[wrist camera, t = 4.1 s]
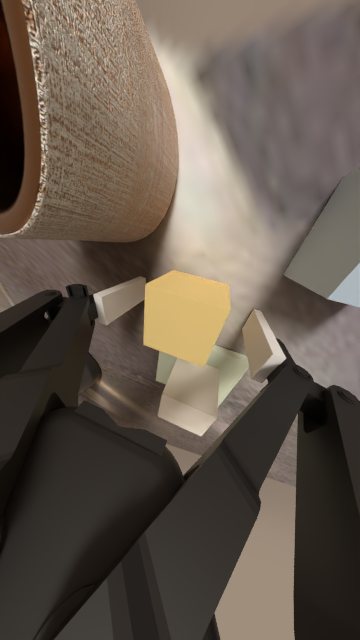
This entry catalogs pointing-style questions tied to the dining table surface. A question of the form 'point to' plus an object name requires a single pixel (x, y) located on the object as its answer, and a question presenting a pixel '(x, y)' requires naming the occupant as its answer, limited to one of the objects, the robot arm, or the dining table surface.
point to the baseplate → (216, 360)
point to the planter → (82, 123)
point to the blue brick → (333, 247)
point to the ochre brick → (185, 315)
